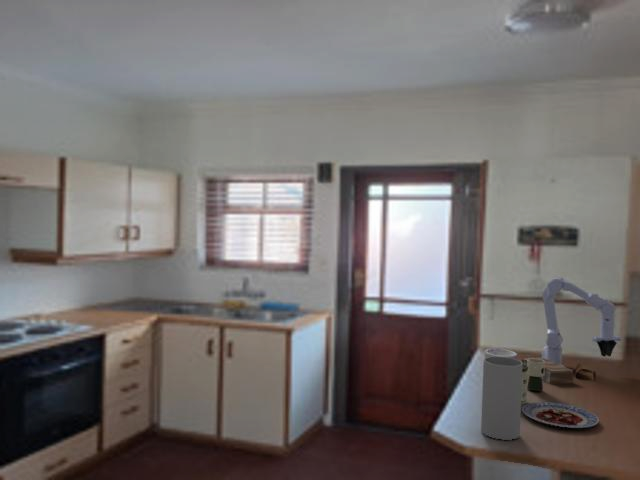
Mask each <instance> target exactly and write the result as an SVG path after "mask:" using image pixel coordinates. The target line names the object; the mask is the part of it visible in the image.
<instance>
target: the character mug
mask: <svg viewBox="0 0 640 480" xmlns="http://www.w3.org/2000/svg"><path fill="white" fill-rule="evenodd" d="M530 358H531V359H527V367H528V372H527V376H528V375H529V377H528V379H527V390H531V391H534V392H543V388H544V387H543V386H544V385H543V380H542V378H541V377H542V376H544V375H545V361H544V360H541V359H534V358H535V357H530Z"/></svg>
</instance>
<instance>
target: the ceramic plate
mask: <svg viewBox="0 0 640 480" xmlns="http://www.w3.org/2000/svg"><path fill="white" fill-rule="evenodd" d="M522 412H523V414H524V415H525V416H527V417H529V418H530V419H532V420H535V421H536V422H539V423H543V424H547V425H549V424H550V426H553V425H554V427H557V426H559V427H558V428H565V427H567V429H569V428H570V429H583V428H592V427H594V426H596V425H598V424H599V422H600V419H599V417H598V416H597V415H596V414H595V413H592V412H591V411H589V410H586V409H585V408H582V407H578V406H575V405H572V404H567V403H559V402H549V401H548V402H547V401H541V402H539V401H538V402H531V403H527V404H526V405H524V406H523V407H522Z"/></svg>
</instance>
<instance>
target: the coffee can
mask: <svg viewBox="0 0 640 480" xmlns="http://www.w3.org/2000/svg"><path fill="white" fill-rule="evenodd" d="M527 372H528V367H527V366H526V365H523V367H522V392H521V405H524V403H525V404H526V403H527V402H528V389H527V386H528V374H527Z"/></svg>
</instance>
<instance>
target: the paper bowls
mask: <svg viewBox="0 0 640 480" xmlns="http://www.w3.org/2000/svg"><path fill="white" fill-rule="evenodd" d="M486 357H508V358H513V359H517V360H518V354H517V352H515V351H512V350H510V349H505V348H487V349H485V350H484V358H486ZM484 358H483V359H484Z"/></svg>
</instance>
